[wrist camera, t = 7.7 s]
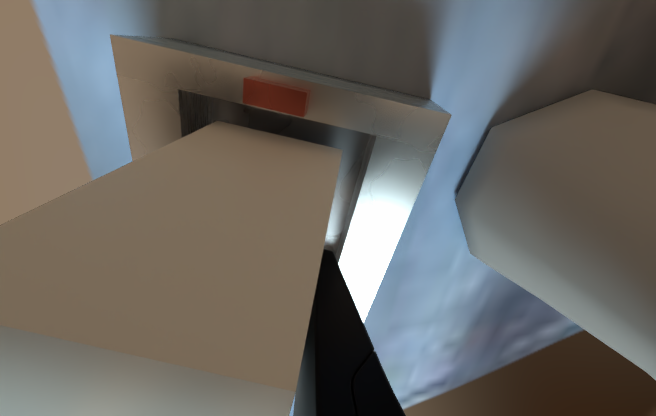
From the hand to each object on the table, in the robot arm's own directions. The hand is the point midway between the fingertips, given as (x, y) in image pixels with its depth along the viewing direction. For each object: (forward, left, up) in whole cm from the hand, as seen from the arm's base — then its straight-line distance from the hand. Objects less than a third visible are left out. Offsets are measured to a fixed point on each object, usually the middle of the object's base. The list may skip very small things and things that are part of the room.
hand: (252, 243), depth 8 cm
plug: (0, 0, -2) cm, 2 cm away
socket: (0, 0, -4) cm, 4 cm away
